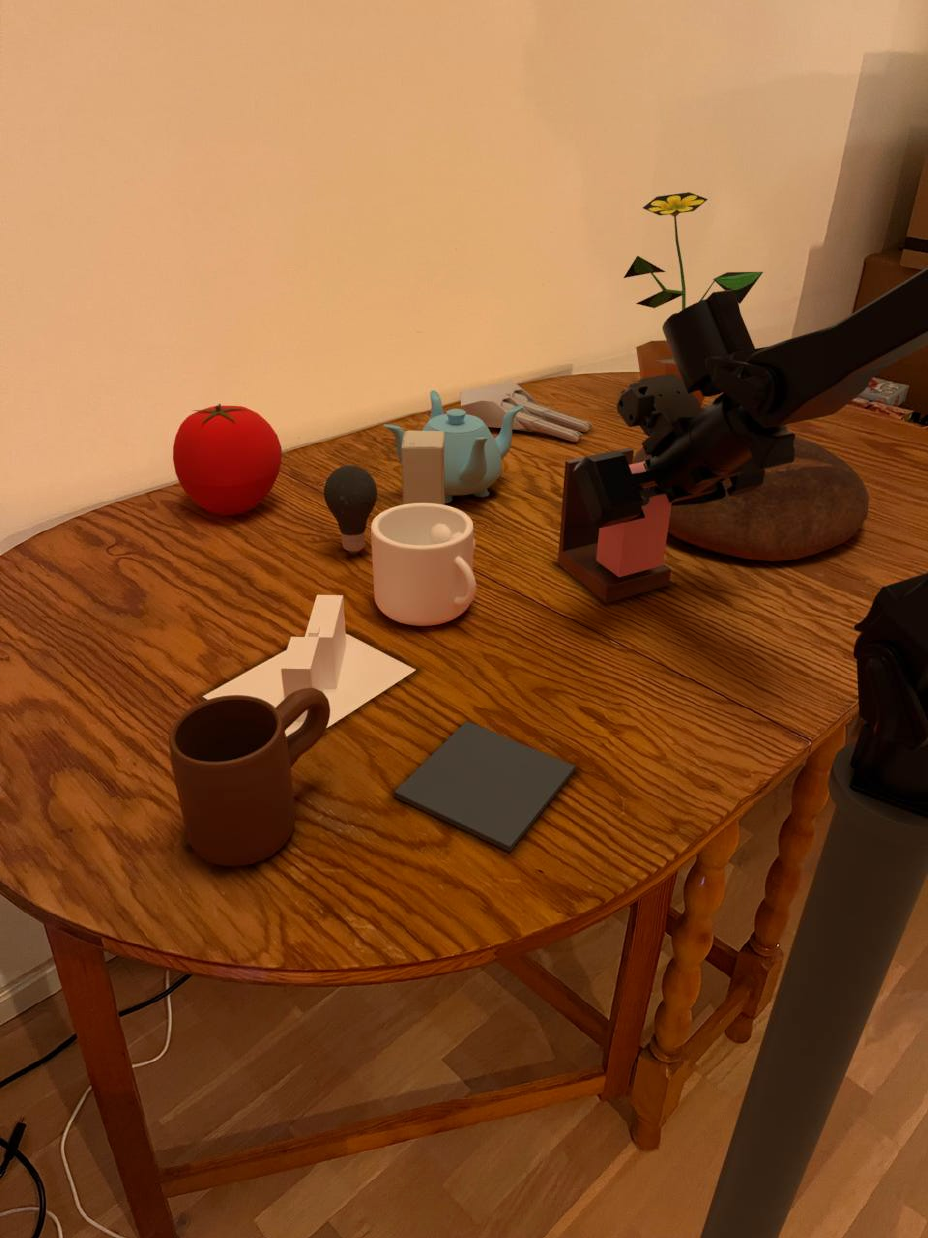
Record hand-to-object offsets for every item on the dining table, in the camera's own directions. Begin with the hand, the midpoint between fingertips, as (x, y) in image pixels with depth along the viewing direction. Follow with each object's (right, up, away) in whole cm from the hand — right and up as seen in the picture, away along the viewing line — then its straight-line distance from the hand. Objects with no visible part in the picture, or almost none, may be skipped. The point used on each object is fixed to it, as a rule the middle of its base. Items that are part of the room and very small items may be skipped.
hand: (627, 508), depth 91 cm
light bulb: (-28, -4, +9) cm, 30 cm away
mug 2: (-19, -10, -1) cm, 22 cm away
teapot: (-18, +5, +23) cm, 30 cm away
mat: (-15, -24, -22) cm, 35 cm away
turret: (-8, +17, +42) cm, 46 cm away
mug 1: (-31, -25, -25) cm, 47 cm away
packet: (+1, -5, +2) cm, 6 cm away
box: (-21, -3, +10) cm, 23 cm away
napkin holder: (-30, -17, -11) cm, 36 cm away
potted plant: (+14, +19, +45) cm, 51 cm away
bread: (+17, +2, +19) cm, 25 cm away
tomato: (-44, +2, +18) cm, 48 cm away
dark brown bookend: (-1, -6, +5) cm, 8 cm away
